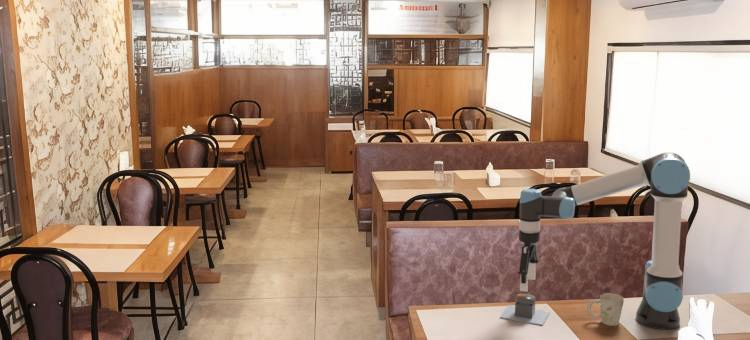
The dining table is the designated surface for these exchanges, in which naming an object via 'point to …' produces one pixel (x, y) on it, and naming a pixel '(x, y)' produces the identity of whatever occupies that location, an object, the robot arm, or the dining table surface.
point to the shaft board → (537, 318)
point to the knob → (525, 306)
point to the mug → (608, 308)
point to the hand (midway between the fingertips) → (527, 285)
